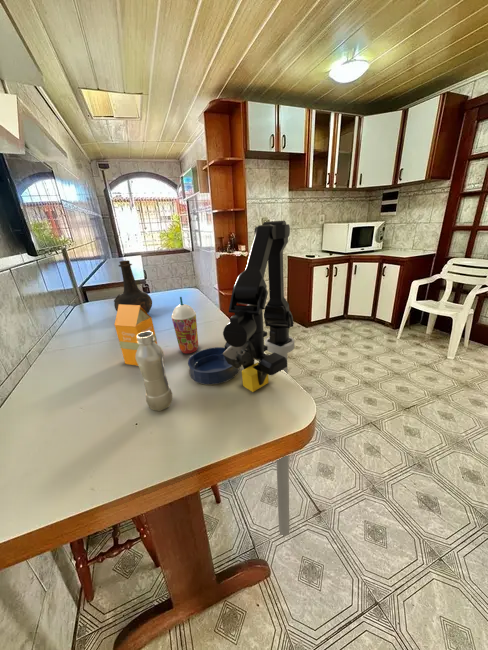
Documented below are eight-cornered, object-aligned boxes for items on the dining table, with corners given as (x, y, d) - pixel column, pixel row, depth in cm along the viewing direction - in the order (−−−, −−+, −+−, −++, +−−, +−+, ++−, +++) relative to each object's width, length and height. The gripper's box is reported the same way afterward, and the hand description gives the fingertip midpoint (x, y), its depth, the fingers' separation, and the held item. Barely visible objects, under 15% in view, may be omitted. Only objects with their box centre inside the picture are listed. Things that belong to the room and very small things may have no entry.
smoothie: (173, 354, 95) (162, 300, 87) (186, 343, 102) (177, 293, 94) (193, 356, 91) (184, 301, 84) (205, 346, 99) (197, 293, 91)
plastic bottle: (150, 417, 64) (131, 343, 57) (146, 402, 70) (128, 333, 62) (177, 408, 67) (162, 336, 59) (170, 394, 73) (156, 326, 65)
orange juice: (140, 353, 97) (127, 300, 89) (160, 355, 94) (148, 301, 86) (124, 364, 90) (109, 308, 83) (145, 367, 87) (131, 309, 80)
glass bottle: (121, 312, 144) (107, 260, 133) (155, 308, 147) (144, 256, 137) (114, 324, 128) (98, 265, 117) (153, 318, 131) (140, 261, 121)
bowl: (220, 354, 92) (219, 342, 90) (250, 370, 81) (249, 357, 79) (181, 372, 83) (178, 359, 81) (208, 393, 72) (206, 379, 70)
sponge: (258, 377, 77) (257, 362, 75) (268, 382, 74) (267, 367, 72) (242, 386, 74) (241, 370, 72) (252, 392, 71) (251, 376, 69)
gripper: (205, 329, 70) (212, 380, 76) (253, 352, 56) (257, 411, 62) (238, 317, 76) (242, 365, 82) (288, 335, 63) (288, 390, 69)
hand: (255, 381), depth 74 cm, fingers closed on sponge, 4 cm apart
